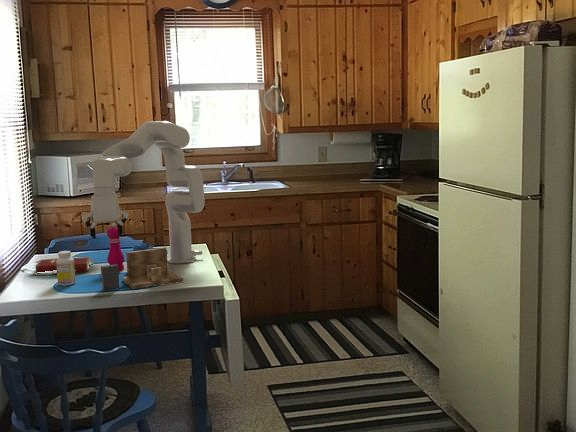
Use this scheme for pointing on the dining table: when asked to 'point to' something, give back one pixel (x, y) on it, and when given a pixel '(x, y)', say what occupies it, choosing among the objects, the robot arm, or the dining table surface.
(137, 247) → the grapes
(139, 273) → the wooden desk organizer
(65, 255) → the supplement bottle
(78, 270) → the hardcover book
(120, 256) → the pepper mill
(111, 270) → the bracket
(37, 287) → the dining table surface
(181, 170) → the robot arm
